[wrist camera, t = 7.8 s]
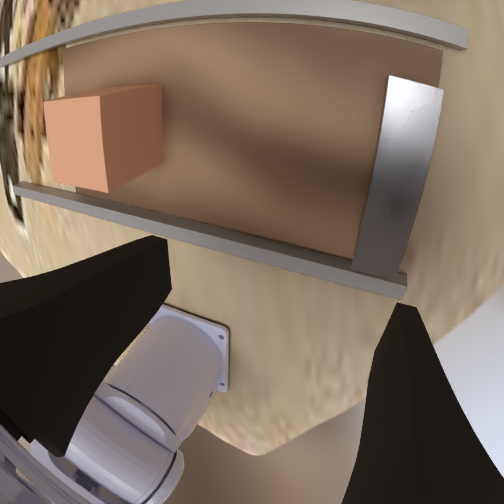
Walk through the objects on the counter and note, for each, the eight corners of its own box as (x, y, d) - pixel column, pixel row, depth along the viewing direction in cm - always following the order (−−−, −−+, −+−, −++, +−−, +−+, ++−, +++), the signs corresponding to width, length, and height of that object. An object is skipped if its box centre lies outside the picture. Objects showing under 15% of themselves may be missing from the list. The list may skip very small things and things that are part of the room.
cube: (163, 163, 19) (108, 192, 15) (108, 156, 20) (53, 182, 16) (162, 84, 16) (99, 95, 12) (103, 87, 18) (43, 101, 14)
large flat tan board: (392, 265, 17) (390, 316, 14) (80, 190, 24) (40, 213, 20) (440, 51, 11) (463, 42, 7) (68, 48, 17) (20, 55, 14)
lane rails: (401, 288, 18) (401, 300, 17) (23, 189, 28) (15, 194, 27) (462, 32, 10) (468, 29, 9) (7, 56, 20) (-2, 58, 19)
